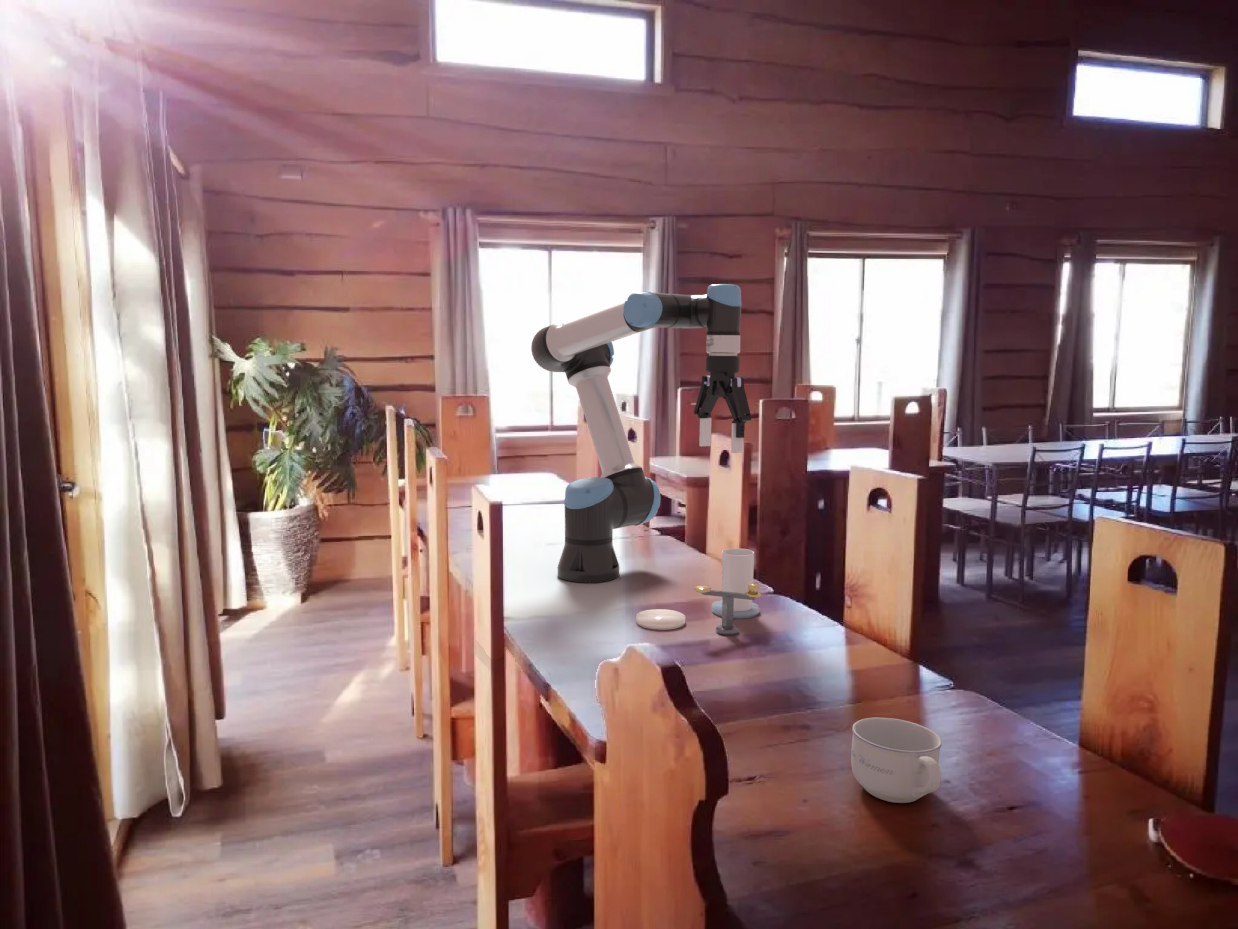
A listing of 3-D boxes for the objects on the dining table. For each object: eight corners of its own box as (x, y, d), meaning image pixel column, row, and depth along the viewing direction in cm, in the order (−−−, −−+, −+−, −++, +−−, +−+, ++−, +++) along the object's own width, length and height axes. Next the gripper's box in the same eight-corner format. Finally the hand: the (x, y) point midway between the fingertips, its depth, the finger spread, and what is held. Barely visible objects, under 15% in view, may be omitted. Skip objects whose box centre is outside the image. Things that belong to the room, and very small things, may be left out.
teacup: (838, 772, 118) (840, 715, 117) (917, 769, 119) (920, 712, 118) (876, 829, 104) (880, 764, 103) (965, 825, 105) (970, 761, 104)
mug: (757, 611, 185) (758, 555, 183) (726, 613, 184) (727, 556, 182) (742, 597, 195) (743, 544, 193) (712, 599, 194) (713, 545, 192)
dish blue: (702, 607, 191) (702, 602, 191) (741, 602, 196) (742, 597, 196) (727, 620, 182) (728, 615, 182) (768, 614, 187) (768, 609, 187)
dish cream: (627, 618, 184) (627, 612, 184) (670, 612, 188) (670, 606, 188) (650, 632, 175) (650, 626, 175) (694, 625, 179) (694, 620, 179)
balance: (689, 633, 174) (690, 586, 173) (752, 624, 181) (753, 578, 179) (700, 640, 170) (701, 592, 169) (764, 630, 177) (766, 583, 175)
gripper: (680, 354, 208) (679, 444, 211) (739, 355, 186) (737, 456, 189) (708, 354, 211) (706, 442, 214) (769, 355, 189) (766, 454, 192)
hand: (720, 449), depth 201 cm, fingers open, 13 cm apart
